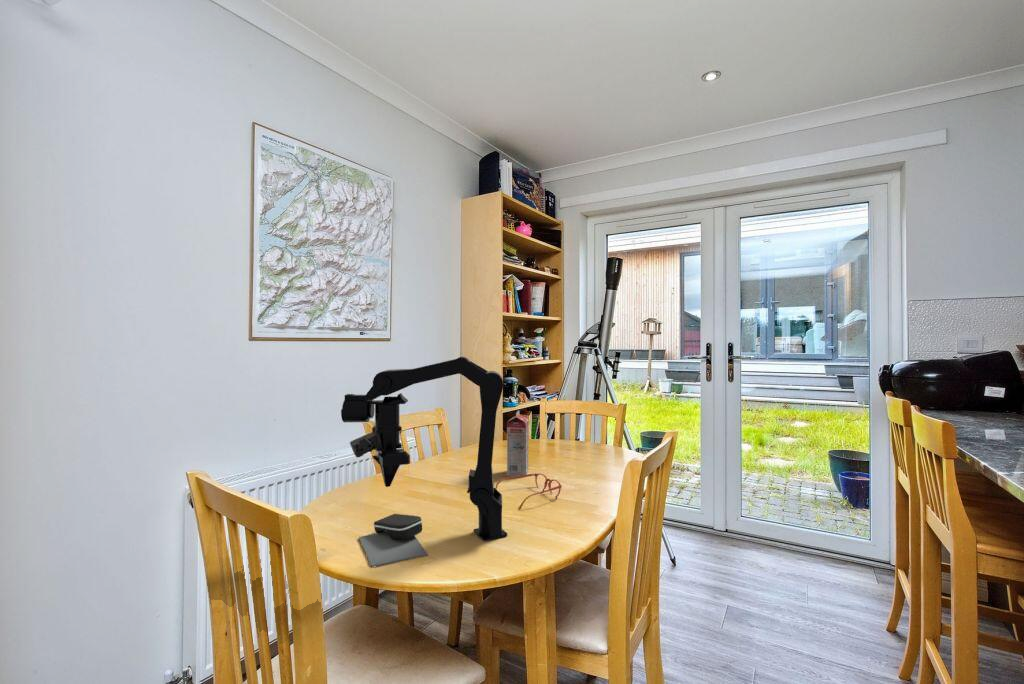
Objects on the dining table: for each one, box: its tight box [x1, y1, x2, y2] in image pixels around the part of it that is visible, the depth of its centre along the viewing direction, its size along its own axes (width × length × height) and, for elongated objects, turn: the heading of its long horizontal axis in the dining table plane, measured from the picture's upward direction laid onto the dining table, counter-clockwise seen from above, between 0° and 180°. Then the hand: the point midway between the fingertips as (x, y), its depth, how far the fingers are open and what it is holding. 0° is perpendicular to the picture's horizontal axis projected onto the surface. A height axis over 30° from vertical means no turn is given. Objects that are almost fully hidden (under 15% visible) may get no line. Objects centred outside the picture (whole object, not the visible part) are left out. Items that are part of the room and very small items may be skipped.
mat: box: [358, 531, 429, 568], centre depth 108 cm, size 16×12×1 cm
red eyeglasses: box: [494, 472, 563, 509], centre depth 143 cm, size 17×16×5 cm
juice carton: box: [506, 409, 529, 477], centre depth 166 cm, size 7×7×22 cm
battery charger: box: [373, 513, 423, 540], centre depth 114 cm, size 7×4×11 cm
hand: (387, 486), depth 114 cm, fingers closed
